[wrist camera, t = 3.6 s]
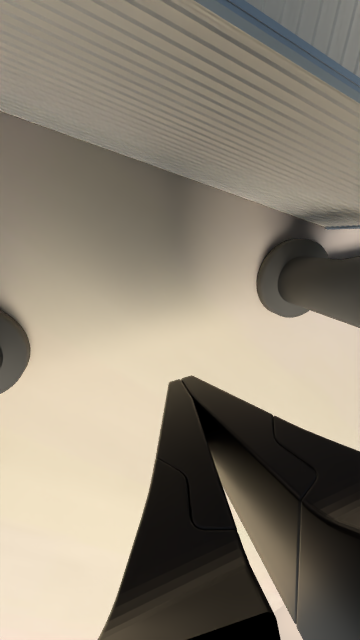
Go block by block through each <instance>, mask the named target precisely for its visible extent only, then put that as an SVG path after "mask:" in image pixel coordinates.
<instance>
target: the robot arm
mask: <svg viewBox="0 0 360 640" xmlns="http://www.w3.org/2000/svg"><path fill="white" fill-rule="evenodd" d="M223 488H224V489H225V491H226V493H227V495H228V497H229V499H230V501H231V503H232V505H233V507H234V509H235V510H236V512H237V514H238V516H239V518H240V520H241V522H242V524H243V526H244V528H245V529H246V531H247V533H248V535H249V537H250V539H251V541H252V543H253V545H254V547H255V549H256V550H257V552H258V554H259V556H260V558H261V560H262V562H263V564H264V566H265V568H266V569H267V571H268V573H269V575H270V577H271V579H272V581H273V583H274V585H275V587H276V589H277V590H278V592H279V594H280V596H281V598H282V600H283V602H284V604H285V606H286V608H287V609H288V611H289V613H290V615H291V617H292V619H293V621H294V623H295V624H297V629H298V631H299V632H300V634H301V636H302V638H303V640H360V451H357V450H355V449H352V448H349V447H347V446H344V445H342V444H339V443H337V442H334V441H331V440H329V439H326V438H324V437H321V436H319V435H316V434H314V433H312V432H309V431H307V430H304V429H302V428H300V427H298V426H296V425H293V424H291V423H289V422H287V421H285V420H283V419H281V418H279V417H277V416H273V415H272V414H270V413H268V412H266V411H264V410H262V409H260V408H258V407H256V406H254V405H252V404H250V403H248V402H246V401H244V400H241V399H239V398H237V397H235V396H233V395H231V394H229V393H227V392H225V391H223V390H221V389H219V388H217V387H215V386H213V385H211V384H209V383H207V382H205V381H202V380H200V379H198V378H196V377H194V376H188V377H185V378H182V379H181V380H180V379H178V380H175V381H172V382H170V383H169V385H168V391H167V396H166V402H165V408H164V413H163V419H162V425H161V430H160V436H159V442H158V447H157V453H156V460H155V464H154V469H153V474H152V479H151V484H150V488H149V493H148V496H147V500H146V504H145V507H144V511H143V514H142V518H141V521H140V524H139V527H138V530H137V534H136V537H135V540H134V543H133V546H132V550H131V553H130V556H129V559H128V562H127V566H126V569H125V572H124V575H123V578H122V582H121V585H120V588H119V591H118V594H117V597H116V600H115V602H114V605H113V608H112V610H111V613H110V615H109V617H108V620H107V622H106V624H105V626H104V628H103V630H102V632H101V634H100V636H99V638H98V640H280V635H279V630H278V624H277V620H276V617H275V615H274V613H273V611H272V609H271V607H270V605H269V603H268V601H267V599H266V597H265V595H264V593H263V591H262V589H261V587H260V585H259V583H258V581H257V578H256V576H255V574H254V572H253V570H252V568H251V566H250V564H249V561H248V559H247V556H246V554H245V551H244V548H243V546H242V543H241V540H240V537H239V534H238V532H237V528H236V525H235V522H234V519H233V516H232V513H231V510H230V507H229V504H228V501H227V498H226V495H225V492H224V489H223Z"/></svg>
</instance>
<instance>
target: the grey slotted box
mask: <svg viewBox="0 0 360 640" xmlns="http://www.w3.org/2000/svg"><path fill="white" fill-rule="evenodd" d="M0 111H1V112H4V113H7V114H10V115H12V116H15V117H18V118H21V119H24V120H26V121H29V122H32V123H35V124H38V125H40V126H43V127H46V128H49V129H52V130H54V131H57V132H60V133H63V134H66V135H68V136H71V137H74V138H77V139H80V140H82V141H85V142H88V143H91V144H94V145H96V146H99V147H102V148H105V149H108V150H110V151H113V152H116V153H119V154H122V155H124V156H127V157H130V158H133V159H136V160H138V161H141V162H144V163H147V164H150V165H152V166H155V167H158V168H161V169H164V170H166V171H169V172H172V173H175V174H178V175H180V176H183V177H186V178H189V179H192V180H194V181H197V182H200V183H203V184H206V185H208V186H211V187H214V188H217V189H220V190H222V191H225V192H228V193H231V194H234V195H236V196H239V197H242V198H245V199H248V200H250V201H253V202H256V203H259V204H262V205H264V206H267V207H270V208H273V209H276V210H278V211H281V212H284V213H287V214H290V215H292V216H295V217H298V218H301V219H303V220H306V221H309V222H312V223H315V224H317V225H320V226H323V227H325V229H358V228H360V0H0Z"/></svg>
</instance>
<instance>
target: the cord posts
mask: <svg viewBox="0 0 360 640" xmlns="http://www.w3.org/2000/svg"><path fill="white" fill-rule="evenodd" d="M257 291H258V296H259V298H260V301H261V302H262V304H263V305H264V307H266V308H267V309H268V310H269V311H271V312H273V313H275V314H278V315H280V316H283V317H297V316H300V315H302V314H304V313H306V312H308V311H309V310H311V311H314V312H317V313H320V314H322V315H325V316H328V317H331V318H333V319H336V320H339V321H342V322H345V323H347V324H350V325H353V326H356V327H359V328H360V256H359V257H354V258H350V259H345V260H337V259H329V258H328V255H327V253H326V251H325V250H324V248H323V247H322V246H321V245H320V244H318V243H317V242H315V241H312V240H308V239H292V240H287V241H285V242H282V243H280V244H279V245H277V246H276V247H275V248H273V249H272V250H271V251H270V252H269V254H268V255H267V256H266V258H265V259H264V261H263V263H262V265H261V267H260V270H259V273H258V278H257ZM29 358H30V345H29V341H28V338H27V336H26V334H25V332H24V330H23V329H22V327H21V326H20V325H19V324H18V323H17V322H16V321H15V320H14V319H13V318H12V317H10V316H9V315H7V314H6V313H4V312H2V311H1V310H0V394H1V393H3V392H5V391H6V390H8V389H9V388H10V387H12V386H13V385H14V384H15V383H16V382H17V381H18V379H19V378H20V377H21V375H22V373H23V372H24V370H25V369H26V367H27V365H28V362H29Z"/></svg>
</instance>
